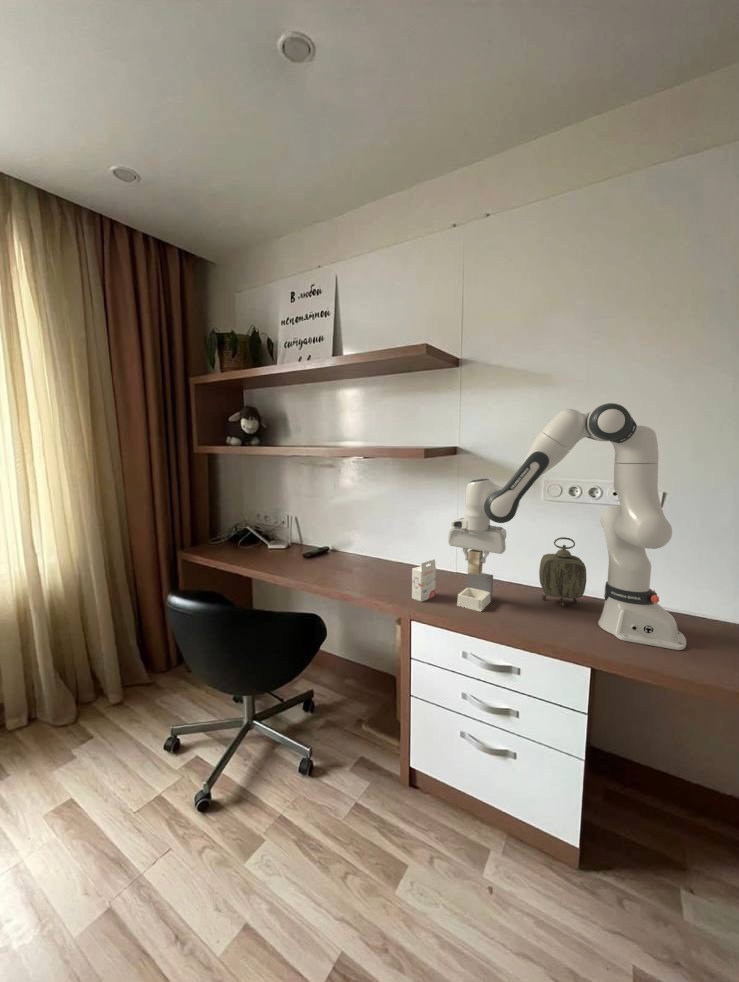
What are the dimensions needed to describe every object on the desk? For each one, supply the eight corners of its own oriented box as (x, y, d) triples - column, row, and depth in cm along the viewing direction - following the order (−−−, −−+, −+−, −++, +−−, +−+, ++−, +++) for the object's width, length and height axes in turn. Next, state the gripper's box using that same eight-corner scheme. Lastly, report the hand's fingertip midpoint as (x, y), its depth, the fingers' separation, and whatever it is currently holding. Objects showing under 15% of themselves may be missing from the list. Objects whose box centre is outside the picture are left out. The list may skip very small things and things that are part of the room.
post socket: (492, 600, 146) (493, 575, 145) (481, 611, 137) (482, 584, 136) (468, 595, 152) (469, 570, 150) (456, 605, 142) (457, 578, 141)
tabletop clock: (579, 601, 146) (584, 536, 144) (585, 611, 138) (590, 542, 135) (537, 597, 150) (541, 533, 147) (541, 606, 142) (545, 539, 139)
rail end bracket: (482, 571, 143) (483, 550, 142) (478, 575, 139) (479, 553, 138) (472, 569, 145) (472, 548, 144) (467, 572, 141) (468, 551, 141)
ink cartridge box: (425, 592, 154) (426, 556, 152) (435, 596, 150) (436, 559, 149) (410, 598, 148) (411, 560, 147) (421, 602, 145) (422, 563, 143)
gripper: (509, 526, 137) (507, 564, 138) (453, 519, 148) (452, 554, 150) (503, 529, 131) (501, 569, 133) (447, 521, 143) (445, 558, 145)
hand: (475, 561), depth 141 cm, fingers closed on rail end bracket, 4 cm apart
